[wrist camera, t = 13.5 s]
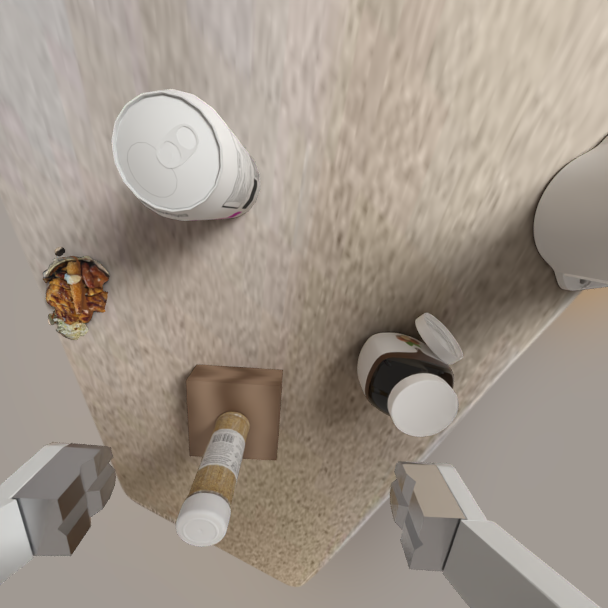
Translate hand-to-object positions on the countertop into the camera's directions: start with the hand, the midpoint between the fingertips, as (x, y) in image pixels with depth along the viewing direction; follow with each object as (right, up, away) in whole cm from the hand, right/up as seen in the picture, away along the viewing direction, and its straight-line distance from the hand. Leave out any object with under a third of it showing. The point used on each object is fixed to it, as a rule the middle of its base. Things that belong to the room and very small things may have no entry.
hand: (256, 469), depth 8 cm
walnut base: (-8, -10, +33) cm, 36 cm away
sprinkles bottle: (-8, -11, +30) cm, 33 cm away
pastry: (-27, +6, +29) cm, 40 cm away
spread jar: (+15, -1, +31) cm, 35 cm away
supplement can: (-8, +19, +24) cm, 32 cm away
